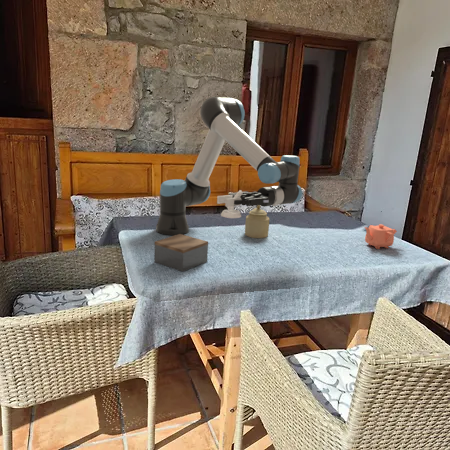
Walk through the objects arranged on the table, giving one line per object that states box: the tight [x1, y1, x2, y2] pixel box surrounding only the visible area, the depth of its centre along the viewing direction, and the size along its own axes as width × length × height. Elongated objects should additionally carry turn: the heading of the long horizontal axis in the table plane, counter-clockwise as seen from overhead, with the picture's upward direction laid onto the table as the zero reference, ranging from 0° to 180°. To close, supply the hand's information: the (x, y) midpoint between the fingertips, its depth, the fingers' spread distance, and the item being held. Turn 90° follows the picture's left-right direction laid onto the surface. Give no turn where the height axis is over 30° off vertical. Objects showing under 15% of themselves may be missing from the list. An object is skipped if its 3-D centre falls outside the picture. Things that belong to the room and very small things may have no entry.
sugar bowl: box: [244, 205, 270, 239], centre depth 197 cm, size 15×11×15 cm
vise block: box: [153, 234, 209, 273], centre depth 157 cm, size 14×14×8 cm
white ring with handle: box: [220, 189, 244, 219], centre depth 156 cm, size 8×12×7 cm
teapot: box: [364, 223, 397, 250], centre depth 189 cm, size 14×12×10 cm
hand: (222, 201), depth 152 cm, fingers closed on white ring with handle, 4 cm apart
